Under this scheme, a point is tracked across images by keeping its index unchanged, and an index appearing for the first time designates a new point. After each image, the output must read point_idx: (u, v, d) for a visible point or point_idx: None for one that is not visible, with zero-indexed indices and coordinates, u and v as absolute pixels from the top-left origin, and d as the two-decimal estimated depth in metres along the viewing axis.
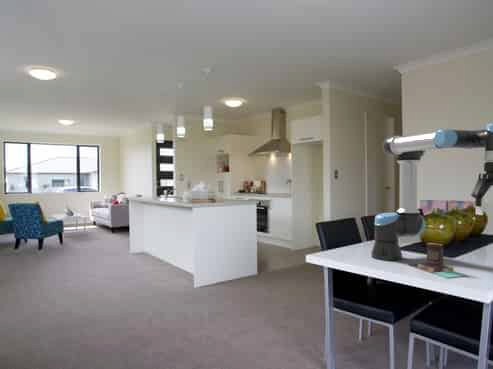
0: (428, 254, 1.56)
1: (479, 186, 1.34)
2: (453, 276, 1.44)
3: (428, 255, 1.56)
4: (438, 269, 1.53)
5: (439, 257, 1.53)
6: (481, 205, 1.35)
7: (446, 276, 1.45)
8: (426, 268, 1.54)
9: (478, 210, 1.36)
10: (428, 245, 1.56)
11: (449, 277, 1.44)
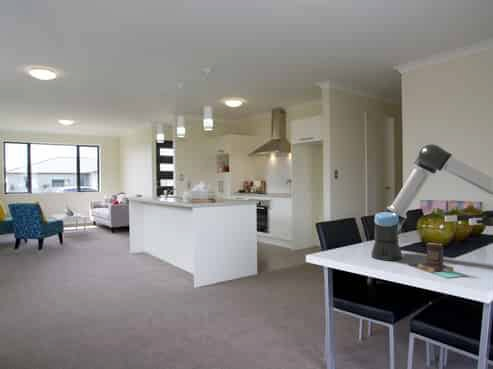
0: (428, 254, 1.56)
1: None
2: (453, 276, 1.44)
3: (428, 255, 1.56)
4: (438, 269, 1.53)
5: (439, 257, 1.53)
6: (477, 223, 1.53)
7: (446, 276, 1.45)
8: (426, 268, 1.54)
9: (473, 221, 1.52)
10: (428, 245, 1.56)
11: (449, 277, 1.44)
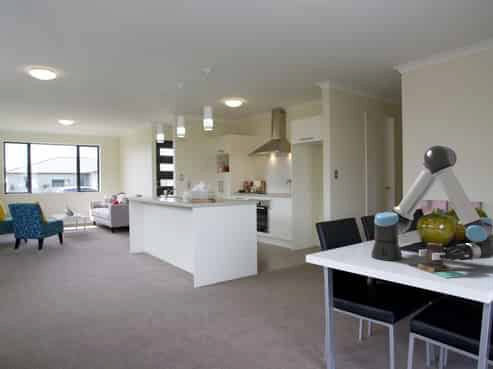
0: (428, 254, 1.56)
1: (459, 258, 1.51)
2: (453, 276, 1.44)
3: (428, 255, 1.56)
4: (438, 269, 1.53)
5: None
6: (440, 258, 1.52)
7: (446, 276, 1.45)
8: (426, 268, 1.54)
9: (436, 256, 1.51)
10: (428, 245, 1.56)
11: (449, 277, 1.44)
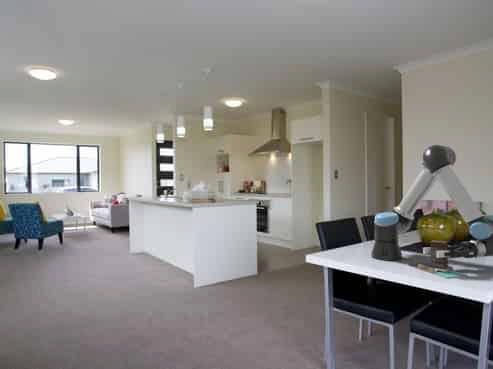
0: (432, 252, 1.54)
1: (464, 255, 1.49)
2: (453, 276, 1.44)
3: (432, 253, 1.54)
4: (443, 267, 1.51)
5: None
6: (445, 256, 1.50)
7: (446, 276, 1.45)
8: (426, 268, 1.54)
9: (441, 254, 1.49)
10: (432, 243, 1.54)
11: (449, 277, 1.44)
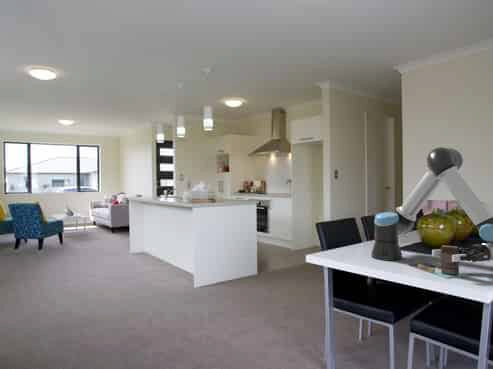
0: (443, 257, 1.48)
1: (479, 259, 1.42)
2: (453, 276, 1.44)
3: (443, 258, 1.48)
4: (454, 273, 1.45)
5: None
6: (460, 260, 1.42)
7: (446, 276, 1.45)
8: (426, 268, 1.54)
9: (456, 258, 1.42)
10: (443, 248, 1.48)
11: (449, 277, 1.44)
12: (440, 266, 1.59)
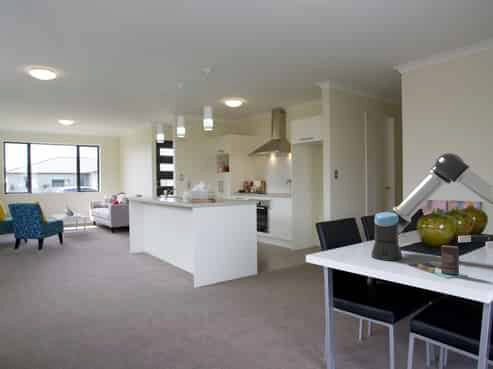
0: (443, 257, 1.48)
1: None
2: (453, 276, 1.44)
3: (443, 258, 1.48)
4: (454, 273, 1.45)
5: (455, 260, 1.45)
6: None
7: (446, 276, 1.45)
8: (426, 268, 1.54)
9: (490, 244, 1.44)
10: (443, 248, 1.48)
11: (449, 277, 1.44)
12: (440, 266, 1.59)
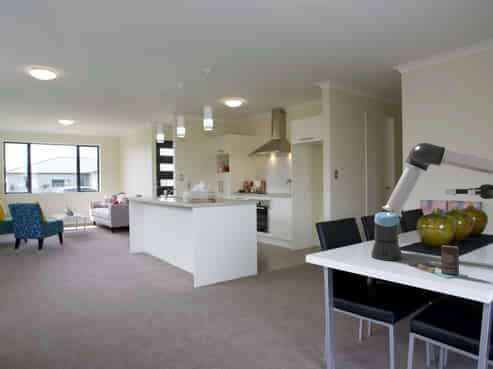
0: (443, 257, 1.48)
1: (491, 194, 1.60)
2: (453, 276, 1.44)
3: (443, 258, 1.48)
4: (454, 273, 1.45)
5: (455, 260, 1.45)
6: (475, 194, 1.60)
7: (446, 276, 1.45)
8: (426, 268, 1.54)
9: (472, 192, 1.59)
10: (443, 248, 1.48)
11: (449, 277, 1.44)
12: (440, 266, 1.59)
